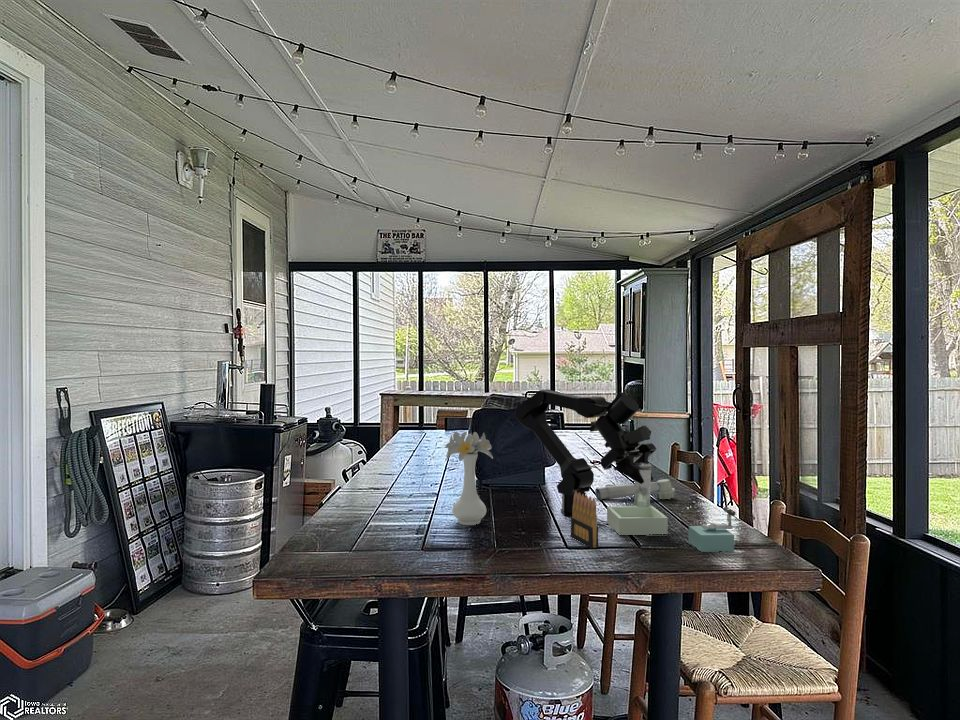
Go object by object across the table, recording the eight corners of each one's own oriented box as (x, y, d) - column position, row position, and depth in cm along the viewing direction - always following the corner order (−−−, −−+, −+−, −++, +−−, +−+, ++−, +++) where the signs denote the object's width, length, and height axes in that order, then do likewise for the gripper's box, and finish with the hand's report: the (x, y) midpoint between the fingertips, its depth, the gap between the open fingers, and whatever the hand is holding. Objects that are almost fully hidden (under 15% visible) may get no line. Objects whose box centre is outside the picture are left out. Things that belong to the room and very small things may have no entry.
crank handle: (707, 532, 162) (707, 511, 162) (698, 526, 167) (699, 506, 167) (736, 531, 162) (736, 511, 162) (727, 526, 168) (727, 506, 167)
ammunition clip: (598, 548, 163) (599, 498, 163) (591, 549, 163) (592, 499, 162) (576, 536, 173) (577, 489, 173) (570, 537, 173) (570, 490, 172)
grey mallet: (594, 486, 217) (669, 474, 219) (596, 506, 217) (671, 494, 219) (598, 489, 212) (675, 477, 214) (601, 510, 212) (678, 498, 214)
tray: (619, 535, 174) (619, 518, 174) (606, 522, 186) (607, 506, 186) (667, 535, 174) (667, 517, 174) (652, 522, 187) (652, 506, 187)
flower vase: (483, 512, 197) (484, 426, 196) (498, 530, 178) (498, 435, 178) (439, 514, 194) (439, 427, 193) (449, 532, 176) (449, 436, 175)
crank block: (700, 552, 161) (701, 535, 160) (688, 542, 168) (688, 526, 168) (733, 551, 161) (734, 534, 161) (720, 541, 169) (720, 525, 169)
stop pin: (636, 507, 177) (638, 465, 176) (632, 503, 181) (633, 462, 181) (652, 507, 177) (653, 465, 177) (647, 503, 181) (648, 462, 181)
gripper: (611, 418, 175) (647, 468, 167) (651, 413, 187) (686, 459, 180) (585, 444, 181) (619, 493, 173) (626, 438, 193) (659, 483, 186)
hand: (647, 481), depth 178 cm, fingers closed on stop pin, 4 cm apart
